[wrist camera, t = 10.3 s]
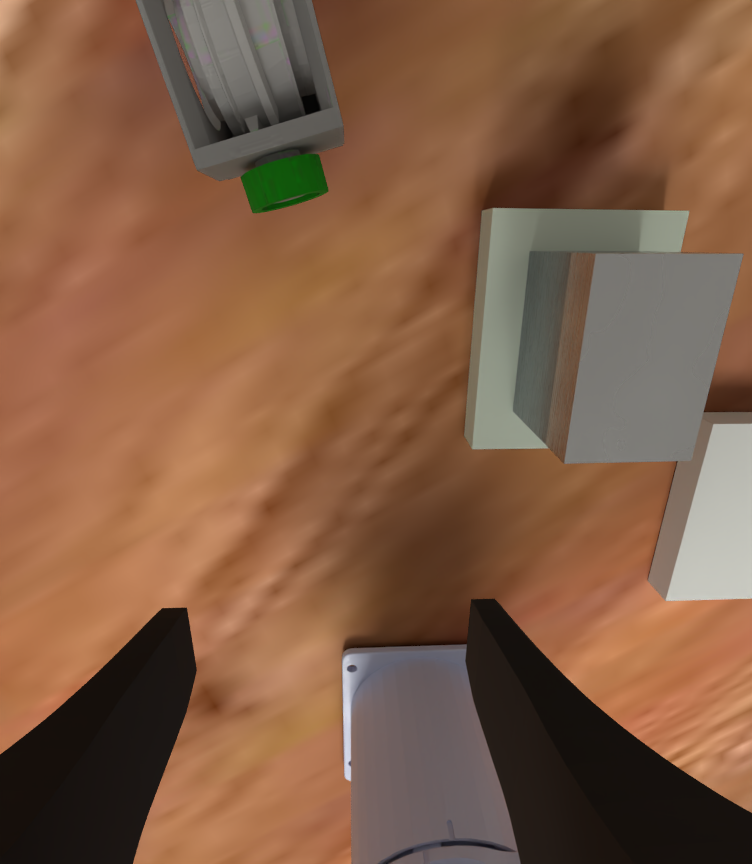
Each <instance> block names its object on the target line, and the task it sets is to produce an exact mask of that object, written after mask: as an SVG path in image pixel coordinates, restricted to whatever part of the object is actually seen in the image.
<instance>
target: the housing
mask: <svg viewBox="0 0 752 864" xmlns="http://www.w3.org/2000/svg"><path fill="white" fill-rule="evenodd" d="M742 258H743V254H735V253H696V252H658V251H530V253H529V262H528V272H527V281H526V290H525V300H524V309H523V319H522V328H521V338H520V347H519V356H518V366H517V375H516V385H515V394H514V403H513V412H514V413H515V414H516V415H517V416H518V417H519V418H520V419H521V420H522V421H523V422H524V423H525V424H526V425H527V426H528V427H529V428H530V429H531V430H532V431H533V432H534V433H535V434H536V436H537V437H538V438H539V439H540V440H541V441H542V442H543V443H544V444H545V445H546V446H547V447H548V448H549V449H550V450H551V451H552V452H553V453H554V454H555V455H556V456H557V457H558V458H559V459H560V460H561V461H562V462H563V463H564V464H568V463H614V462H660V461H691V460H692V456H693V452H694V448H695V444H696V440H697V436H698V432H699V428H700V424H701V420H702V416H703V412H704V408H705V404H706V400H707V396H708V392H709V388H710V384H711V381H712V377H713V373H714V369H715V365H716V361H717V357H718V353H719V349H720V345H721V341H722V337H723V333H724V329H725V325H726V321H727V317H728V313H729V309H730V305H731V301H732V297H733V294H734V290H735V286H736V282H737V278H738V274H739V270H740V266H741V262H742Z"/></svg>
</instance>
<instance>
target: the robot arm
mask: <svg viewBox="0 0 752 864" xmlns="http://www.w3.org/2000/svg"><path fill="white" fill-rule="evenodd" d="M349 665H355V666H349ZM196 671H197V669H196V662H195V656H194V650H193V643H192V637H191V631H190V625H189V618H188V612H187V608H162V609H161V610H160V611H159V612H158V613H157V614H156V615H155V616H154V617H153V618H152V619H151V620H150V621H149V622H148V623H147V624H146V625H145V626H144V627H143V628H142V629H141V630H140V631H139V632H138V633H137V634H136V635H135V636H134V637H133V638H132V639H131V640H130V641H129V642H128V643H127V644H126V645H125V646H124V647H123V648H122V649H121V650H120V651H119V652H118V653H117V654H116V655H115V656H114V657H113V658H112V659H111V660H110V661H109V662H108V663H107V664H106V665H105V666H104V667H103V668H102V669H101V670H100V671H99V672H97V673H96V674H95V675H94V676H93V677H92V678H91V679H90V680H89V681H88V682H87V683H86V684H85V685H84V686H82V687H81V688H80V689H79V690H78V691H77V692H76V693H75V694H74V695H73V696H71V697H70V698H69V699H68V700H67V701H66V702H65V703H64V704H63V705H61V706H60V707H59V708H58V709H57V710H56V711H55V712H53V713H52V714H51V715H50V716H49V717H47V718H46V719H45V720H44V721H43V722H41V723H40V724H39V725H38V726H36V727H35V728H34V729H33V730H31V731H30V732H29V733H28V734H26V735H25V736H24V737H22V738H21V739H20V740H19V741H17V742H16V743H15V744H14V745H12V746H11V747H10V748H8V749H7V750H6V751H4V752H3V753H2V754H0V864H133V861H134V857H135V854H136V850H137V847H138V843H139V840H140V837H141V833H142V831H143V828H144V825H145V822H146V819H147V816H148V813H149V810H150V807H151V805H152V802H153V800H154V797H155V794H156V792H157V789H158V786H159V784H160V781H161V778H162V776H163V773H164V771H165V768H166V765H167V763H168V760H169V757H170V755H171V752H172V749H173V747H174V744H175V741H176V739H177V736H178V733H179V731H180V728H181V725H182V723H183V720H184V717H185V714H186V711H187V707H188V704H189V700H190V696H191V692H192V688H193V684H194V680H195V675H196ZM342 684H343V735H344V776H345V778H346V779H347V780H349V781H351V864H752V813H751V812H749V811H747V810H745V809H744V808H742V807H740V806H738V805H737V804H735V803H733V802H731V801H730V800H728V799H726V798H724V797H723V796H721V795H719V794H718V793H716V792H715V791H713V790H712V789H710V788H708V787H707V786H705V785H704V784H702V783H701V782H699V781H698V780H696V779H694V778H693V777H691V776H690V775H688V774H687V773H685V772H684V771H682V770H681V769H679V768H678V767H676V766H675V765H673V764H672V763H670V762H669V761H668V760H666V759H665V758H663V757H662V756H660V755H659V754H658V753H656V752H655V751H654V750H652V749H651V748H649V747H648V746H647V745H645V744H644V743H643V742H641V741H640V740H639V739H637V738H636V737H635V736H633V735H632V734H631V733H629V732H628V731H627V730H626V729H624V728H623V727H622V726H620V725H619V724H618V723H617V722H616V721H614V720H613V719H612V718H611V717H610V716H608V715H607V714H606V713H605V712H604V711H602V710H601V709H600V708H599V707H598V706H596V705H595V704H594V703H593V702H592V701H591V700H590V699H588V698H587V697H586V696H585V695H584V694H583V693H582V692H581V691H580V690H579V689H578V688H577V687H576V686H575V685H574V684H573V683H571V682H570V681H569V680H568V679H567V678H566V677H565V676H564V675H563V674H562V673H561V672H560V671H559V670H558V669H557V668H556V667H555V666H554V665H553V664H552V662H551V661H550V660H549V659H548V658H547V657H546V656H545V655H544V654H543V653H542V652H541V651H540V650H539V649H538V648H537V647H536V645H535V644H534V643H533V642H532V641H531V640H530V639H529V638H528V637H527V635H526V634H525V633H524V632H523V631H522V630H521V629H520V627H519V626H518V625H517V624H516V623H515V622H514V621H513V619H512V618H511V617H510V616H509V615H508V613H507V612H506V611H505V610H504V609H503V608H502V606H501V605H500V604H499V603H498V602H497V601H496V600H495V599H471V607H470V617H469V627H468V638H467V644H464V645H434V646H405V647H375V648H351V649H347V650H345V651H344V652H343V654H342Z"/></svg>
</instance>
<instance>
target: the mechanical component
mask: <svg viewBox="0 0 752 864" xmlns="http://www.w3.org/2000/svg"><path fill="white" fill-rule="evenodd" d="M136 3H137V5H138V8H139V11H140V14H141V16H142V19H143V22H144V25H145V28H146V30H147V33H148V36H149V39H150V41H151V44H152V47H153V50H154V53H155V55H156V58H157V61H158V64H159V66H160V69H161V72H162V75H163V78H164V80H165V83H166V86H167V89H168V91H169V94H170V97H171V100H172V102H173V105H174V108H175V111H176V114H177V116H178V119H179V122H180V125H181V127H182V130H183V133H184V136H185V139H186V141H187V144H188V147H189V150H190V152H191V155H192V158H193V161H194V164H195V166H196V169H197V171H199V172H201V173H203V174H206V175H208V176H210V177H212V178H214V179H216V180H218V181H222V180H226V179H228V180H229V179H232V178H236V177H239V176H241V180H242V183H243V186H244V189H245V192H246V195H247V198H248V201H249V204H250V206H251V209H252V212H253V213H262V212H268V211H272V210H277V209H281V208H285V207H288V206H292V205H295V204H299V203H302V202H305V201H308V200H311V199H313V198H316V197H319V196H321V195H323V194H325V193H327V192H328V187H327V183H326V179H325V176H324V172H323V168H322V165H321V161H320V157H319V155H318V154H316V153H319V152H322V151H326V150H329V149H332V148H336V147H339V146H342V145H343V144H344V126H343V122H342V118H341V114H340V110H339V106H338V102H337V98H336V94H335V90H334V86H333V82H332V78H331V75H330V71H329V67H328V63H327V59H326V55H325V51H324V47H323V43H322V39H321V35H320V31H319V27H318V23H317V20H316V16H315V12H314V8H313V4H312V0H136ZM168 19H169V20H168ZM169 21H170V23H171V25H172V27H173V29H174V31H175V33H176V35H177V37H178V39H179V42H180V44H181V46H182V49H183V51H184V53H185V56H186V58H187V61H188V63H189V66H190V68H191V71H192V73H193V76H194V79H195V82H196V85H197V88H198V91H199V94H200V97H201V100H202V104H203V107H204V109H203V107H202V105H201V103H200V101H199V99H198V97H197V95H196V92H195V90H194V88H193V86H192V83H191V81H190V79H189V76H188V74H187V71H186V69H185V66H184V64H183V61H182V59H181V56H180V53H179V50H178V48H177V45H176V42H175V39H174V36H173V33H172V30H171V27H170V24H169Z"/></svg>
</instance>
